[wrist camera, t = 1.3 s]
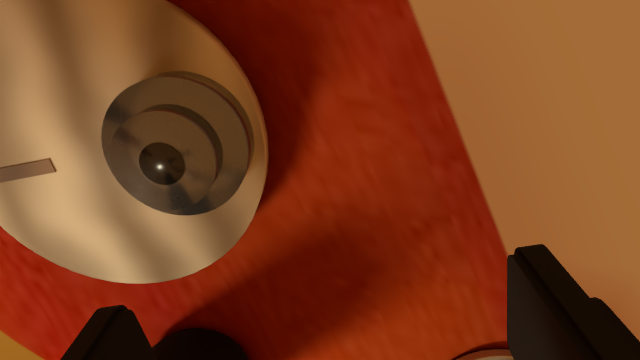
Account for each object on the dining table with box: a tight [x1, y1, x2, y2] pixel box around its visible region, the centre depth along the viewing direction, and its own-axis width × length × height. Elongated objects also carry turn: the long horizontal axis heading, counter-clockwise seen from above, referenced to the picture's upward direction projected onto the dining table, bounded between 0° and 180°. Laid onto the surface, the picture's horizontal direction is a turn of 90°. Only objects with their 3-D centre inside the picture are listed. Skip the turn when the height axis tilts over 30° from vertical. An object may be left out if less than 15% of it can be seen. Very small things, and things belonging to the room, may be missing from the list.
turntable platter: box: [0, 0, 269, 283], centre depth 29 cm, size 22×22×2 cm
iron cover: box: [101, 71, 254, 216], centre depth 25 cm, size 9×9×5 cm
